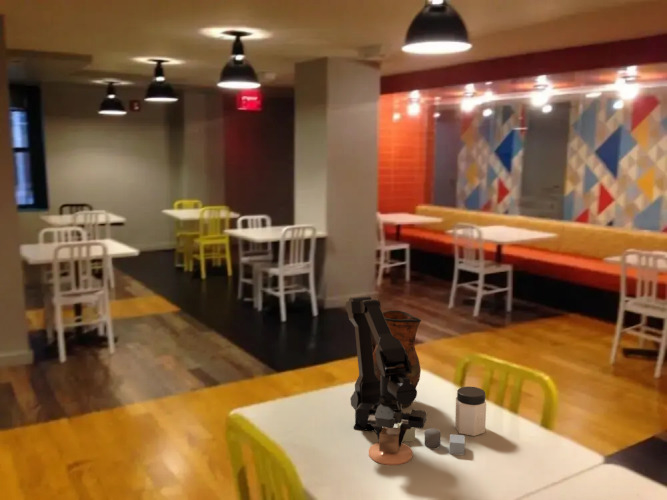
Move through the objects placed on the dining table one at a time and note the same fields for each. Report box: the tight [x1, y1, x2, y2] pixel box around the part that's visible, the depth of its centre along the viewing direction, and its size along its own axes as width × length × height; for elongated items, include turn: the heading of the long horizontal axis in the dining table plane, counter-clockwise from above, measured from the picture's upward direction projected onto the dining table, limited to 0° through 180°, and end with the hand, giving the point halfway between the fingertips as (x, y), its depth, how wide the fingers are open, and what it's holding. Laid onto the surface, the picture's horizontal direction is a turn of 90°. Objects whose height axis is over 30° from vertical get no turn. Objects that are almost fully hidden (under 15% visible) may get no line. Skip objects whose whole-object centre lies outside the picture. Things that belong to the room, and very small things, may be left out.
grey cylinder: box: [424, 427, 442, 450], centre depth 177 cm, size 4×4×4 cm
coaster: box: [368, 442, 413, 466], centre depth 172 cm, size 12×12×1 cm
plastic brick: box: [448, 434, 466, 456], centre depth 174 cm, size 4×5×4 cm
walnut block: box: [378, 427, 401, 454], centre depth 171 cm, size 5×5×5 cm
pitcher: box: [372, 310, 422, 409], centre depth 205 cm, size 17×21×30 cm
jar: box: [454, 386, 487, 437], centre depth 186 cm, size 9×8×12 cm
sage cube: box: [396, 421, 416, 443], centre depth 181 cm, size 4×4×4 cm
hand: (390, 444), depth 172 cm, fingers closed on walnut block, 5 cm apart
